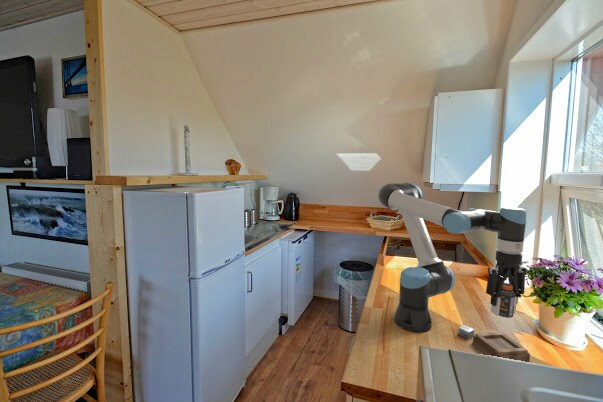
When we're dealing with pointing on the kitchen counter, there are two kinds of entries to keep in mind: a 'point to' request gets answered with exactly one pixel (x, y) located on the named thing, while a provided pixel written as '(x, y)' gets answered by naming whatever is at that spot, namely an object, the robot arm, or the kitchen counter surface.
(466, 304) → the kitchen counter surface
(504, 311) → the pill bottle
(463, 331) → the block
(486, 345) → the stand
